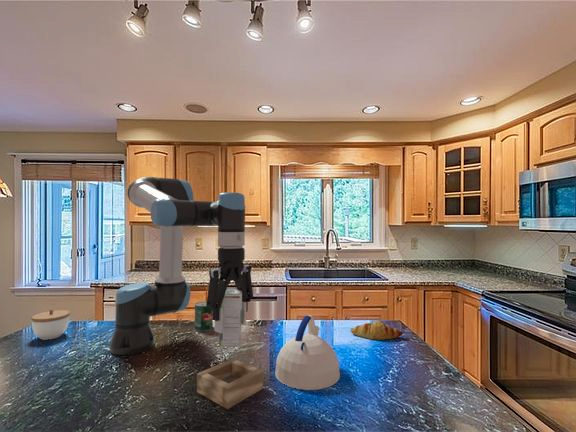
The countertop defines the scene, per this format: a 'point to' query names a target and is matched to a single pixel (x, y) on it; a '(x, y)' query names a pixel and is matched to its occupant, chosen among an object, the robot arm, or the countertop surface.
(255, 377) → the socket block
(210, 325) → the canned tomato
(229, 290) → the syrup box
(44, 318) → the lidded bowl
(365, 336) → the croissant
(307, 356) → the kettle
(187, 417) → the countertop surface
